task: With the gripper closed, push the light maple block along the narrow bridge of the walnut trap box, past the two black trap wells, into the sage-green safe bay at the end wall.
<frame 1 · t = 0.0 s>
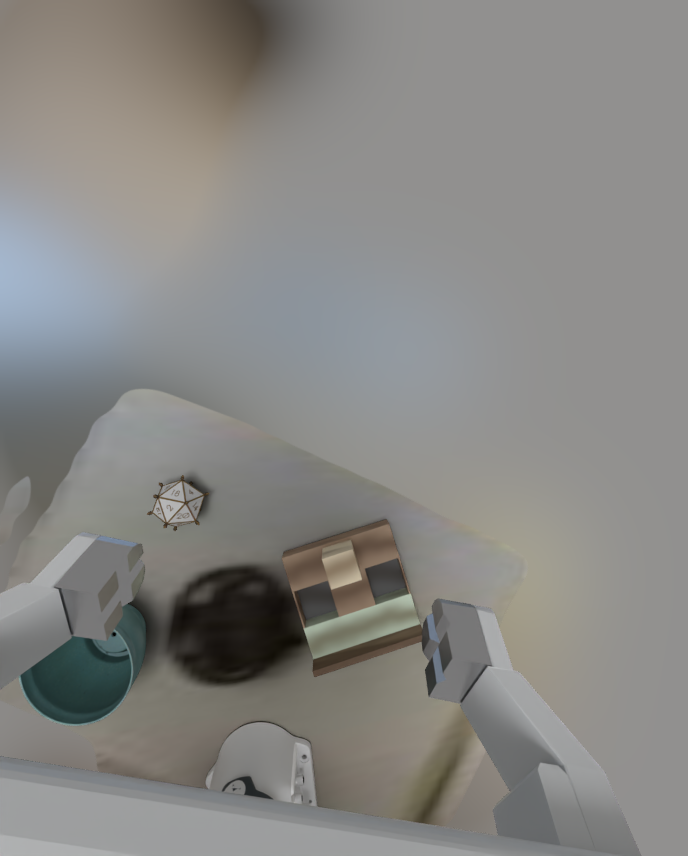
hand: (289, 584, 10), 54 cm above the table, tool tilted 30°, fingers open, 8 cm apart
flower pot: (119, 628, 63), on the table
maple block: (340, 557, 62), point 3 cm above the table, touching trap box
game die: (188, 498, 64), on the table
trap box: (351, 586, 65), on the table
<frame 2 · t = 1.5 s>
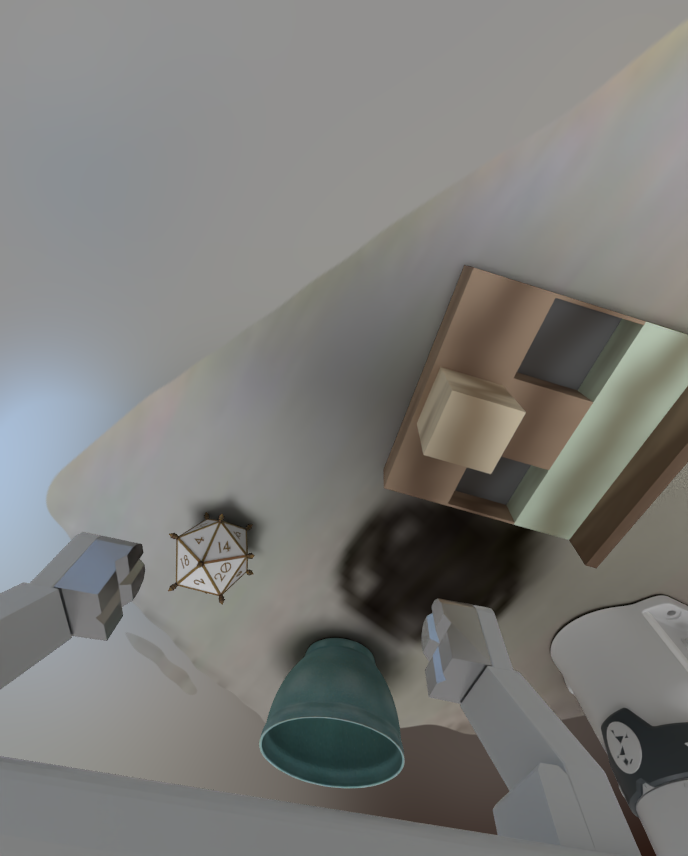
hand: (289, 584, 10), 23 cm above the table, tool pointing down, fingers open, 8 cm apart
flower pot: (340, 656, 50), on the table
maple block: (458, 405, 29), point 3 cm above the table, touching trap box
game die: (228, 526, 41), on the table
trap box: (521, 412, 32), on the table
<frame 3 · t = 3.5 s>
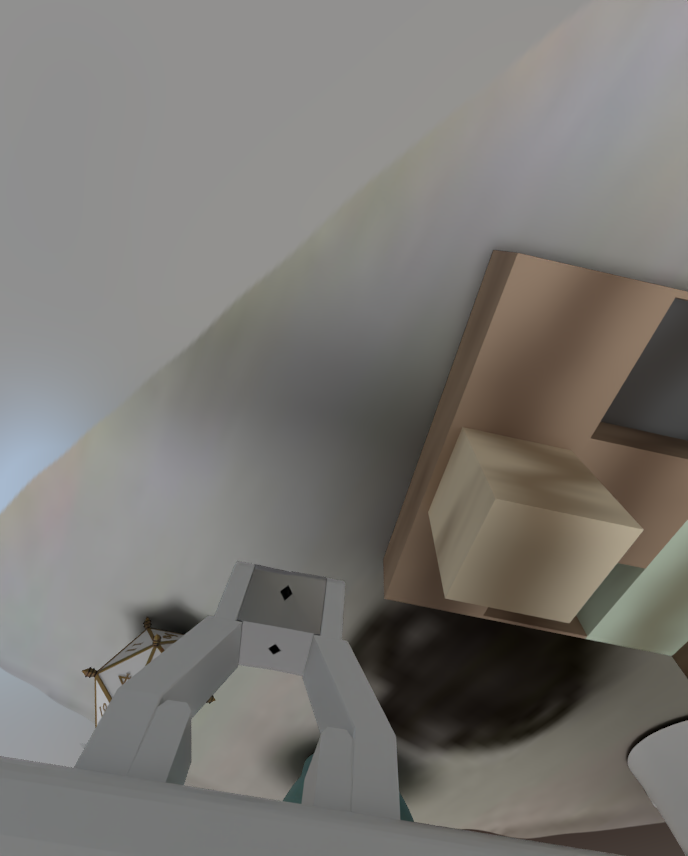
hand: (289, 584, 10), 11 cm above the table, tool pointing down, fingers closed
flower pot: (348, 764, 39), on the table
maple block: (495, 483, 17), point 3 cm above the table, touching trap box
game die: (180, 631, 30), on the table
trap box: (592, 474, 20), on the table
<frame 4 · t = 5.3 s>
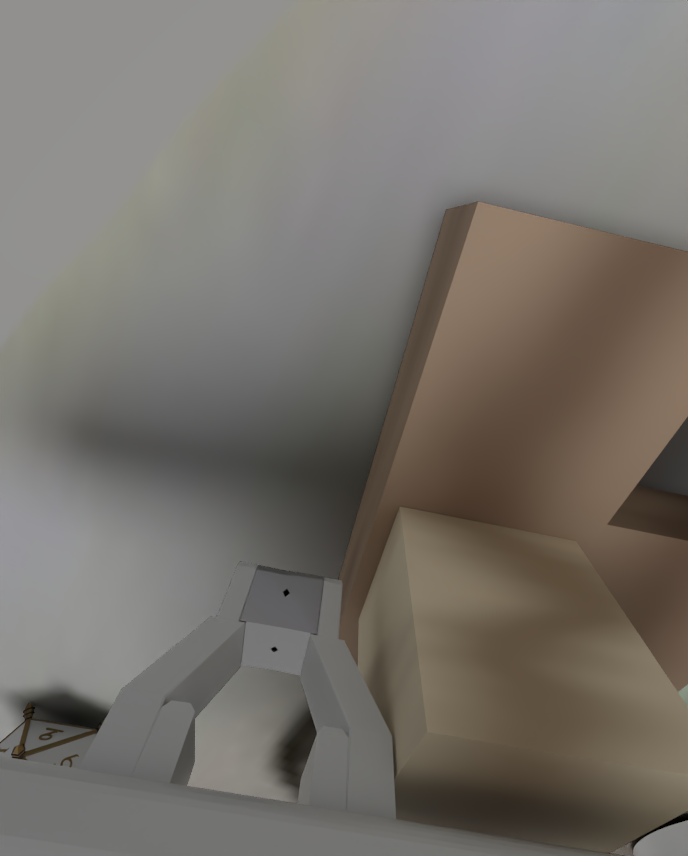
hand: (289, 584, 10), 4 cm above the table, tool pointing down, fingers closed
maple block: (456, 583, 11), point 3 cm above the table, touching gripper, trap box
game die: (77, 716, 24), on the table
trap box: (602, 548, 14), on the table
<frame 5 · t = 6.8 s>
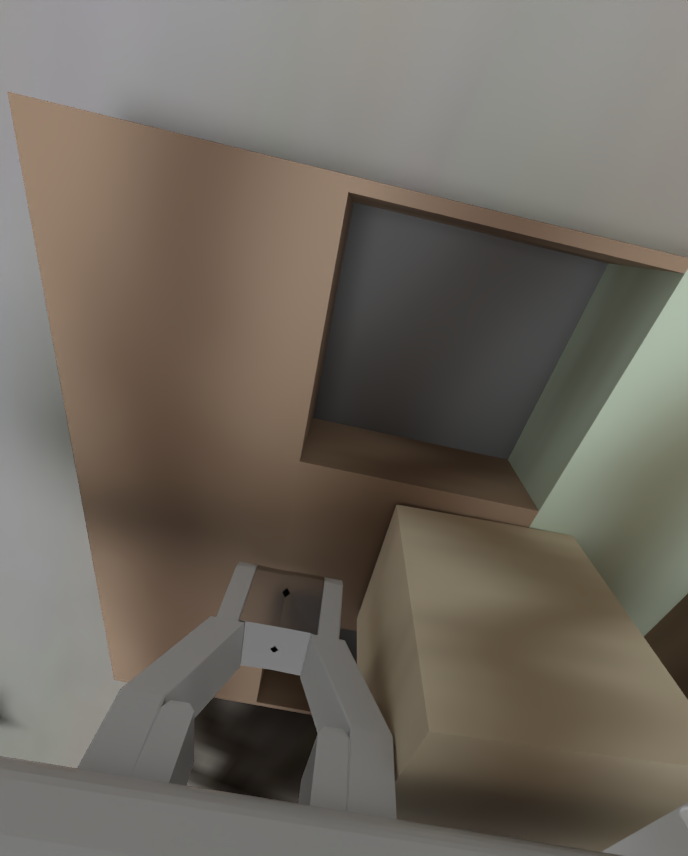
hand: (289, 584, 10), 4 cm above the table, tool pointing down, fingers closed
maple block: (454, 580, 11), point 3 cm above the table, touching gripper, trap box
trap box: (391, 506, 14), on the table
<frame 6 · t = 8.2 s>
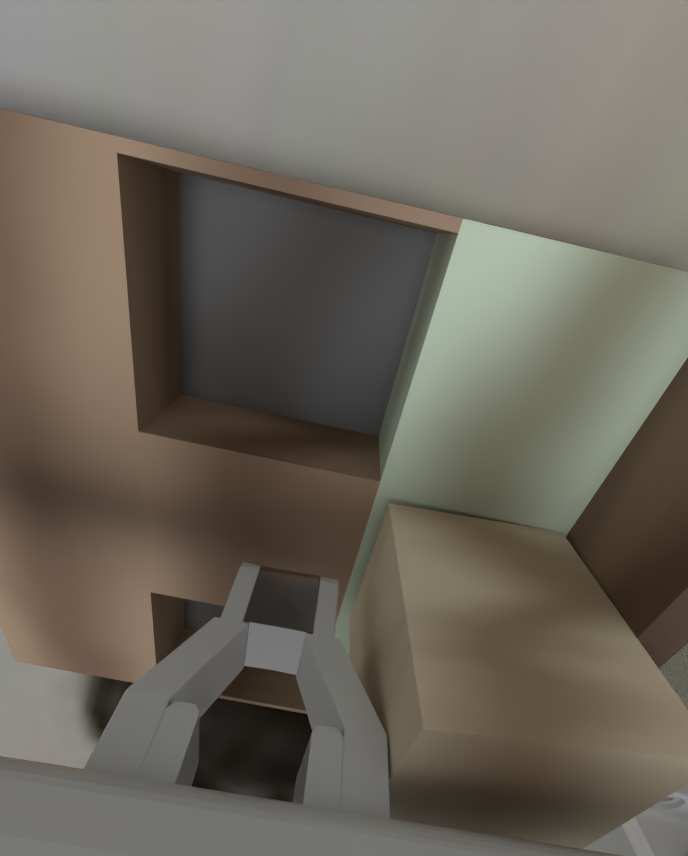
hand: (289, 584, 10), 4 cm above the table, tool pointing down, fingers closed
maple block: (446, 578, 11), point 3 cm above the table, touching gripper, trap box
trap box: (280, 486, 14), on the table
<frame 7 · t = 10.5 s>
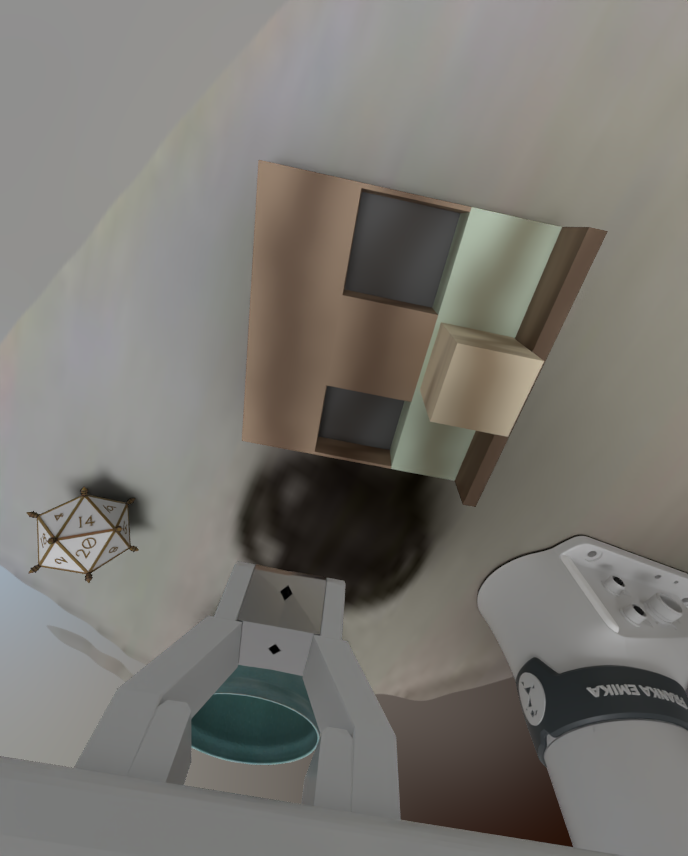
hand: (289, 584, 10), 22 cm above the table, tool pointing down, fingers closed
flower pot: (267, 631, 48), on the table
maple block: (464, 364, 26), point 3 cm above the table, touching trap box
game die: (112, 503, 38), on the table
trap box: (381, 341, 28), on the table
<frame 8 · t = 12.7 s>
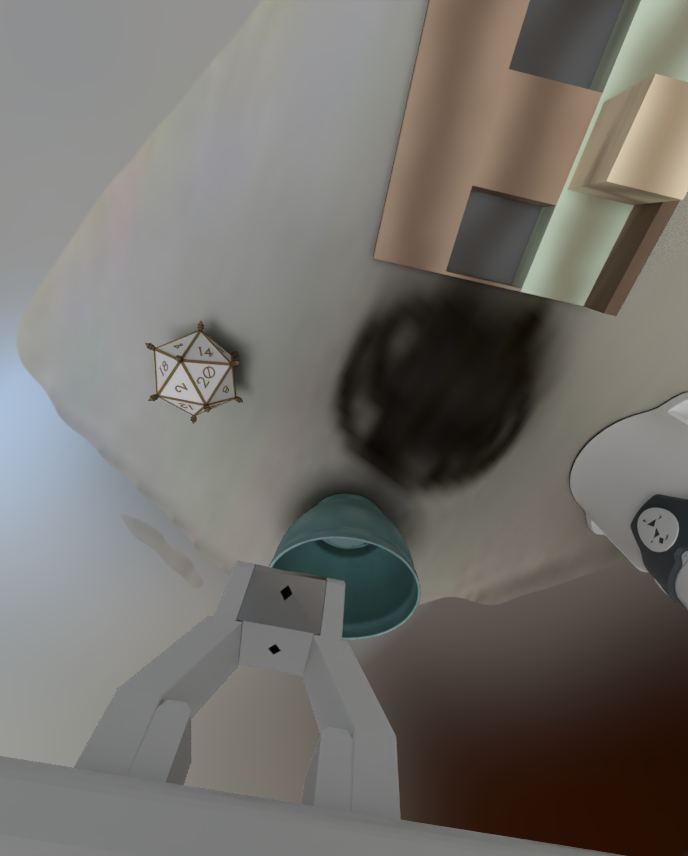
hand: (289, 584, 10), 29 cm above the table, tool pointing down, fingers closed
flower pot: (347, 520, 48), on the table
maple block: (618, 156, 26), point 3 cm above the table, touching trap box
game die: (213, 360, 38), on the table
trap box: (521, 150, 28), on the table
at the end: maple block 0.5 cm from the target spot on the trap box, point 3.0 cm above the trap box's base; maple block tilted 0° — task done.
